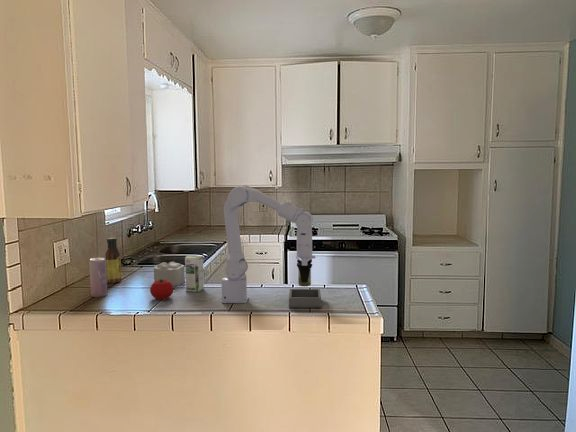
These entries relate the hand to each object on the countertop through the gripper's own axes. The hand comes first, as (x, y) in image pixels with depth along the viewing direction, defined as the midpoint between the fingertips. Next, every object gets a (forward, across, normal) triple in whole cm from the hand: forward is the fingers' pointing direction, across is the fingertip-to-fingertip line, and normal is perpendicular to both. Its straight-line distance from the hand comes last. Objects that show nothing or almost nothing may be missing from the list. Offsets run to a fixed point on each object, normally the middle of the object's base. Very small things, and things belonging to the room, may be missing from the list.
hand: (304, 280), depth 161 cm
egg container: (+9, +30, +61) cm, 68 cm away
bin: (+9, 0, 0) cm, 9 cm away
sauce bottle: (+9, +31, +86) cm, 92 cm away
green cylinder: (+2, 0, 0) cm, 2 cm away
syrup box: (+9, +18, +46) cm, 50 cm away
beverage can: (+9, +10, +83) cm, 84 cm away
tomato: (+9, +6, +56) cm, 57 cm away
